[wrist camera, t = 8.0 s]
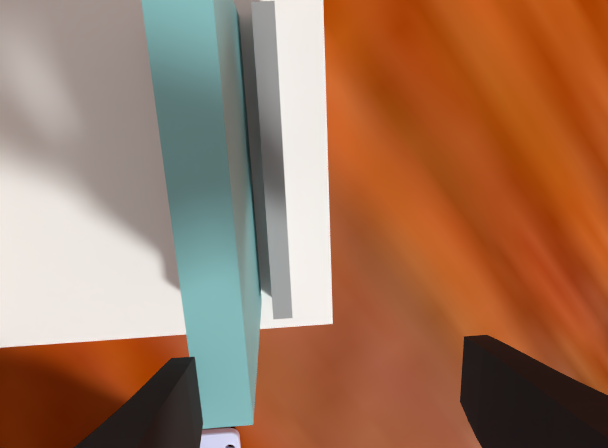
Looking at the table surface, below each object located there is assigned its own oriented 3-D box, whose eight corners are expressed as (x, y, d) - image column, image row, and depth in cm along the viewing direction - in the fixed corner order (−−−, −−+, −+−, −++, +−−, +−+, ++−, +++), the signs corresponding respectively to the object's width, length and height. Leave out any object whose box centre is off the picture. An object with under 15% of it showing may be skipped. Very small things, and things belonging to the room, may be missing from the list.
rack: (330, 313, 21) (342, 360, 17) (-180, 350, 20) (-288, 408, 16) (319, -25, 17) (332, -62, 13) (-320, -5, 16) (-507, -40, 12)
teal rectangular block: (261, 300, 20) (253, 424, 12) (229, 302, 20) (199, 429, 12) (239, 15, 17) (206, -63, 9) (199, 17, 16) (133, -61, 9)
